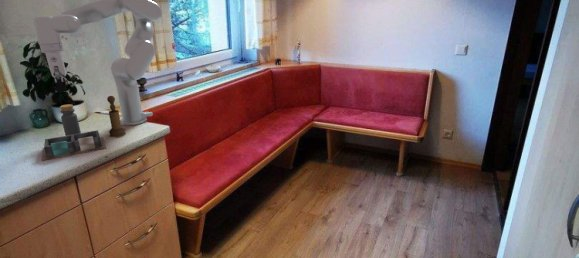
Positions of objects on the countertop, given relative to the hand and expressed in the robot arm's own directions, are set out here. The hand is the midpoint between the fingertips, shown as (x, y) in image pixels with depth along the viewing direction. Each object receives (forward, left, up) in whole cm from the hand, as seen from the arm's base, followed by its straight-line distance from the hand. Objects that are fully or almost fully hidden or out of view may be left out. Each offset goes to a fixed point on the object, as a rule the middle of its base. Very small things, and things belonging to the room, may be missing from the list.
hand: (62, 89), depth 145 cm
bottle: (0, 0, -22) cm, 22 cm away
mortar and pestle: (-17, +6, -22) cm, 29 cm away
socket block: (0, +14, -22) cm, 26 cm away
